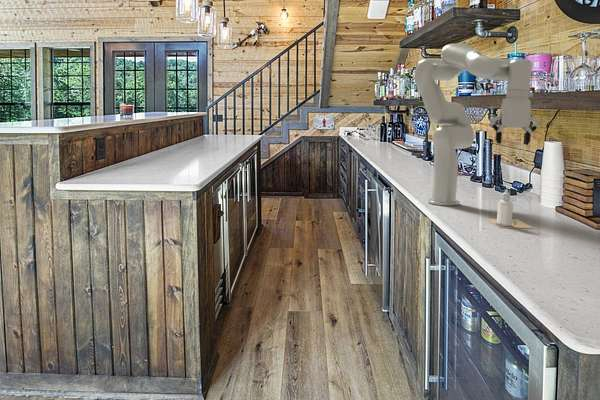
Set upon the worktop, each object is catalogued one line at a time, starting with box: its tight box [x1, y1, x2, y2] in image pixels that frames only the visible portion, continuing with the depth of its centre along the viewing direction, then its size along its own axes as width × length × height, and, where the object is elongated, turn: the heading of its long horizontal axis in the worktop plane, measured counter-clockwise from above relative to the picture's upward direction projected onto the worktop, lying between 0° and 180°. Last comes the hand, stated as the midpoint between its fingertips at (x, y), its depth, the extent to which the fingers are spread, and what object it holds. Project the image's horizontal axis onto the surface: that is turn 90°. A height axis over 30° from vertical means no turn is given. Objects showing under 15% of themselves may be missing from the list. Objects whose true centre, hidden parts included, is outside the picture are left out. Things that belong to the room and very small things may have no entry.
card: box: [486, 218, 534, 230], centre depth 205 cm, size 14×11×1 cm
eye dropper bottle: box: [496, 189, 514, 226], centre depth 200 cm, size 4×6×12 cm
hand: (512, 143), depth 213 cm, fingers open, 9 cm apart
